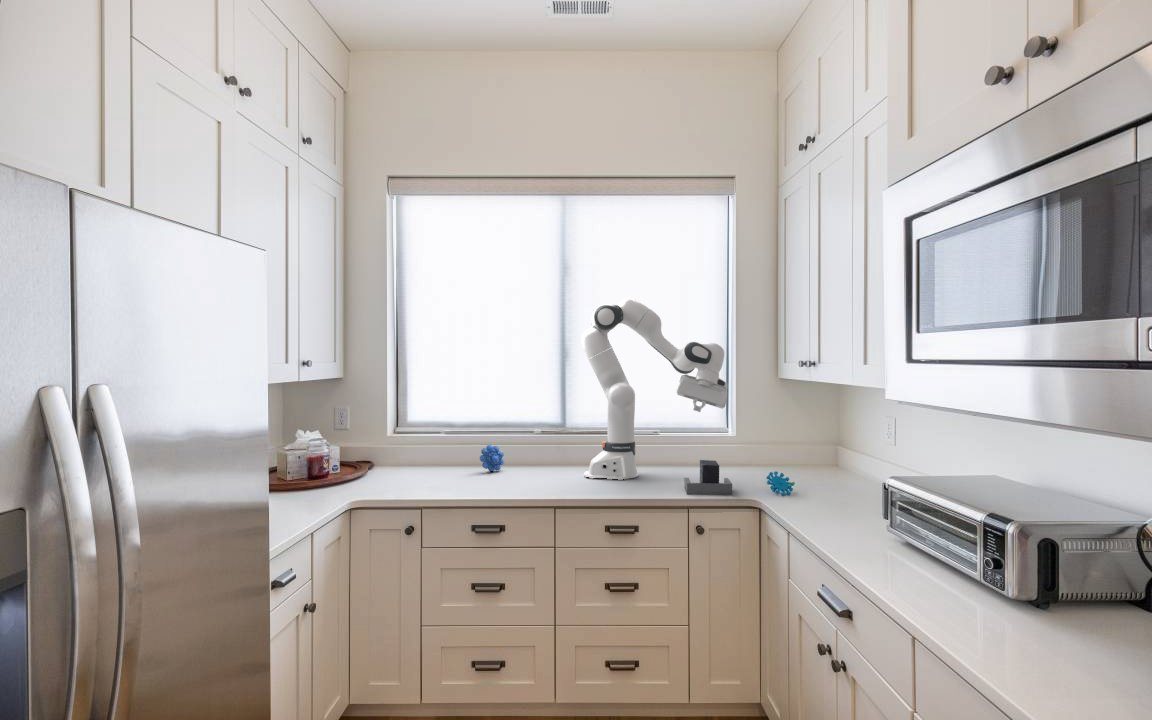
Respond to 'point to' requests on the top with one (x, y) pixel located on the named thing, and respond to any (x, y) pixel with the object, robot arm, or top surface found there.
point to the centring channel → (708, 488)
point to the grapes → (492, 458)
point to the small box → (709, 471)
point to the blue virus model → (780, 483)
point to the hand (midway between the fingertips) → (696, 410)
